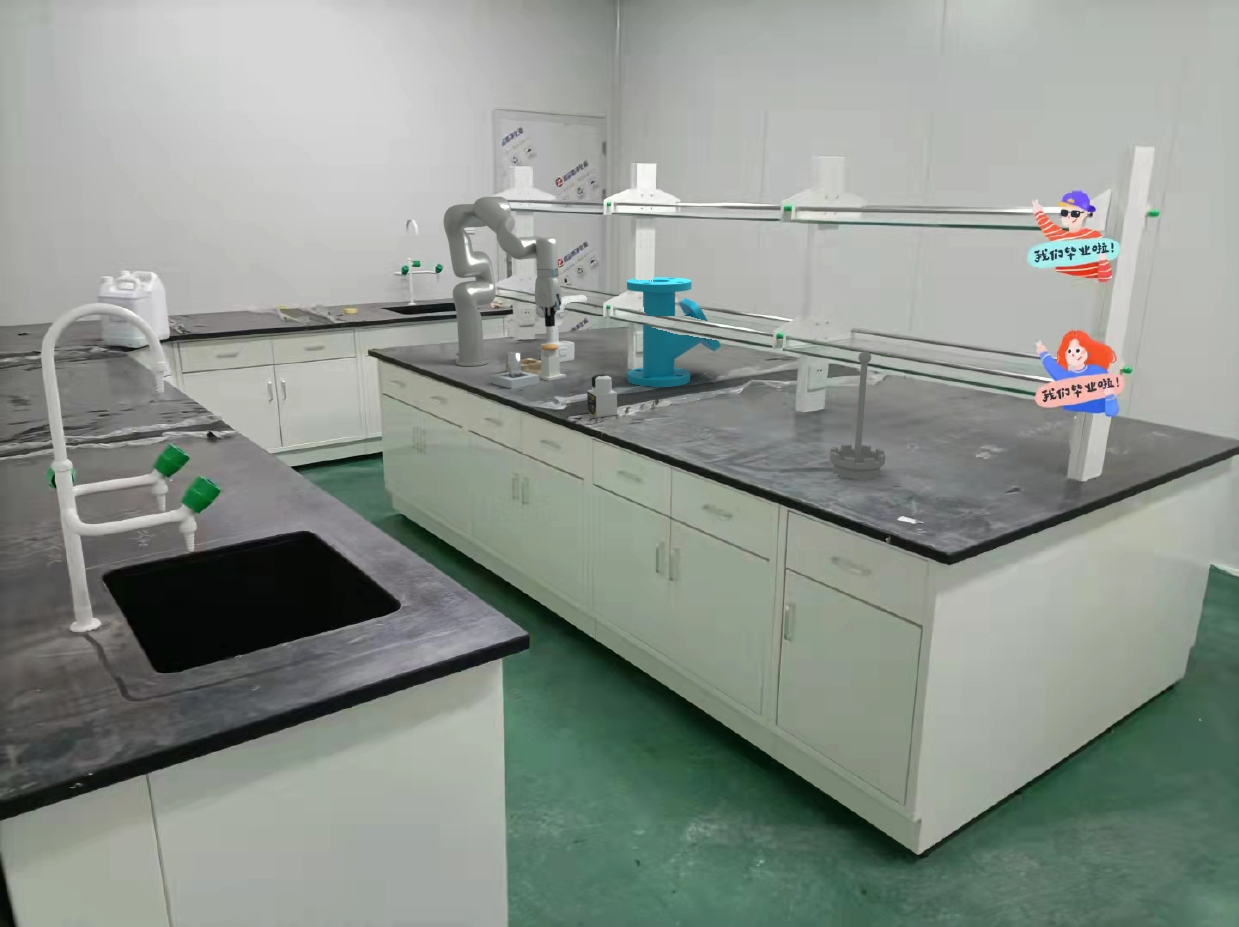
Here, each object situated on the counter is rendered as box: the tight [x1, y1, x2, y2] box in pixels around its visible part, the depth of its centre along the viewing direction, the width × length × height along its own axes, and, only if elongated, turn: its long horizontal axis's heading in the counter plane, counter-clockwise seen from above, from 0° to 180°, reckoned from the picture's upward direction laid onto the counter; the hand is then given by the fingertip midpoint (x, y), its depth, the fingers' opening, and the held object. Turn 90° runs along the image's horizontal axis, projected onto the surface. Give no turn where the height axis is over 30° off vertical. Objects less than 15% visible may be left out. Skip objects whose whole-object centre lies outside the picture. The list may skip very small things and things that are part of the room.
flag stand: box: [829, 350, 886, 481], centre depth 214 cm, size 13×13×30 cm
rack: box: [505, 357, 541, 375], centre depth 333 cm, size 11×11×4 cm
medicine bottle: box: [586, 374, 618, 418], centre depth 273 cm, size 7×7×12 cm
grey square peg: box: [507, 351, 522, 378], centre depth 314 cm, size 4×4×11 cm
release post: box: [537, 355, 567, 382], centre depth 324 cm, size 8×8×8 cm
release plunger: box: [542, 344, 558, 357], centre depth 323 cm, size 6×6×8 cm
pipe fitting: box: [626, 276, 722, 388], centre depth 315 cm, size 22×32×35 cm
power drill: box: [535, 294, 588, 364], centre depth 352 cm, size 8×24×25 cm, turn 132°
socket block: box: [491, 371, 540, 390], centre depth 315 cm, size 12×12×3 cm
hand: (550, 326), depth 319 cm, fingers closed
